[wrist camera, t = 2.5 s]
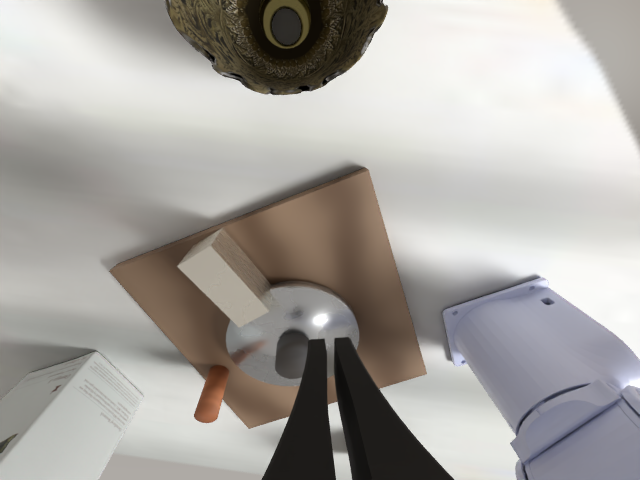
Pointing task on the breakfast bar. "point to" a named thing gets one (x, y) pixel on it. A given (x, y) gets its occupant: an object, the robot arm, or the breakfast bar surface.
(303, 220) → the board
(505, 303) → the robot arm
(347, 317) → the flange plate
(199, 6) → the cup
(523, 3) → the breakfast bar surface
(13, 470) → the supplement box
